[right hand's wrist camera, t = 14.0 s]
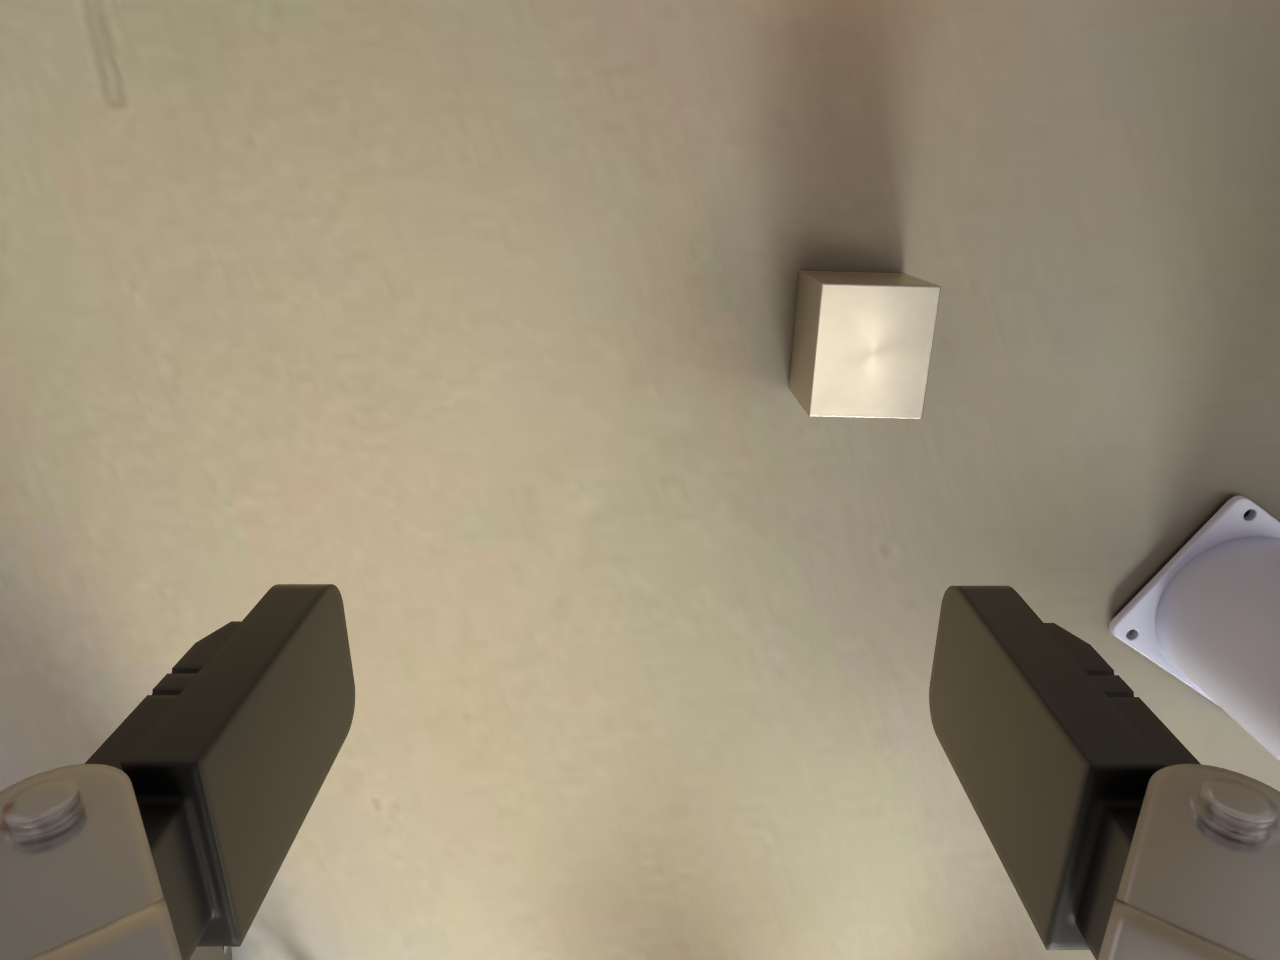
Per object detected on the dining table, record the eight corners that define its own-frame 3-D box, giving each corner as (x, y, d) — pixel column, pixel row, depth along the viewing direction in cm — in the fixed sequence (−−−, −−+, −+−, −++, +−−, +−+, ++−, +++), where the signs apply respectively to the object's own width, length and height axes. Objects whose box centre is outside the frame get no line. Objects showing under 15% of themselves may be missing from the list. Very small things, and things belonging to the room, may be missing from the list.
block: (904, 272, 33) (941, 286, 29) (888, 391, 35) (922, 419, 31) (799, 270, 33) (821, 283, 29) (788, 388, 35) (808, 416, 31)
